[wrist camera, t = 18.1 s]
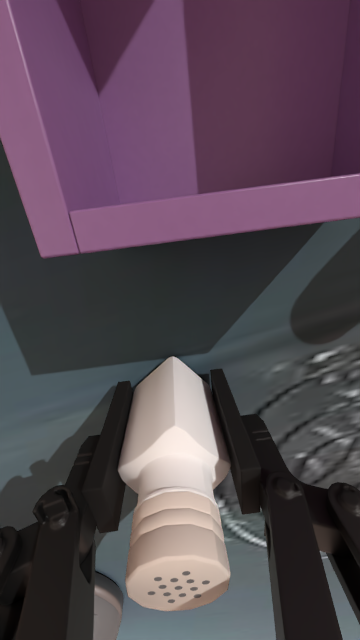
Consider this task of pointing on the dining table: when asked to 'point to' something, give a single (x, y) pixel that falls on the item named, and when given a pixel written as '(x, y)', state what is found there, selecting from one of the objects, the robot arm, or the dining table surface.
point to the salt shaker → (175, 491)
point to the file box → (179, 117)
